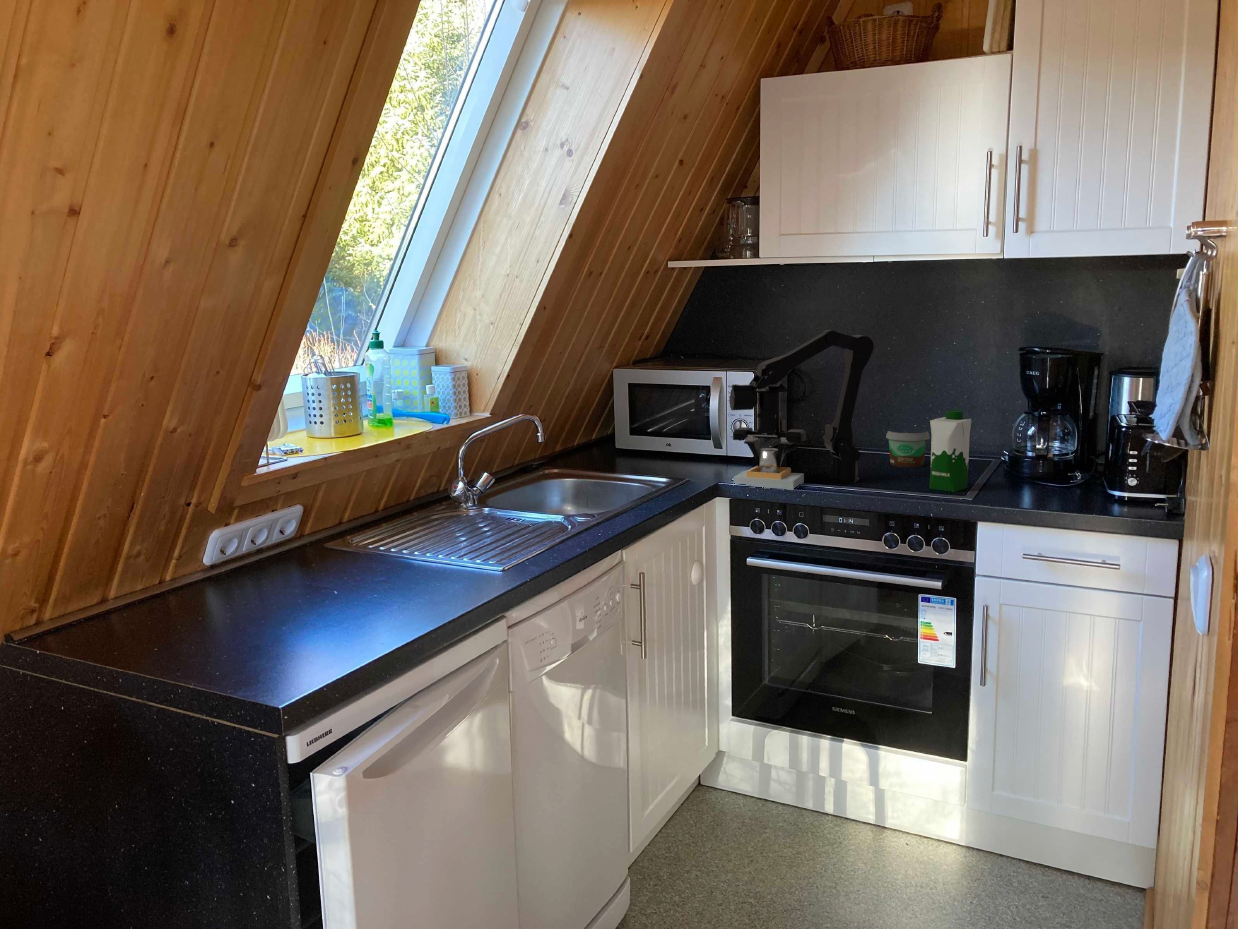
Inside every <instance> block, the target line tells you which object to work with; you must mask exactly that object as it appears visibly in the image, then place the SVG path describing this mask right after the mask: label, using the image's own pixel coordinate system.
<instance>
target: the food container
mask: <svg viewBox="0 0 1238 929" xmlns="http://www.w3.org/2000/svg"><path fill="white" fill-rule="evenodd" d="M885 438H886V439H888V448H889V460H890V465H891V466H893V467H899V468H919V467H923V466H924V464H925V457H926V451H927V442H928V440H929V439H930V433H929V431H928V430H927V431H925V432H917V433H916V432H909V431H908V432H896V431H895V432H894V431H890V430H888V431H887V432H886V436H885Z"/></svg>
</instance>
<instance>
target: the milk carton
mask: <svg viewBox="0 0 1238 929" xmlns="http://www.w3.org/2000/svg"><path fill="white" fill-rule="evenodd" d="M945 415H946V416H944V417H938V418H934V419H932V420H929V423H930V433H931V442H930V444H931V446H930V448H931V449H930V471H929V473H930V475H929V486H928V487H929V490H937V491H945V492H950V491H951V492H953V493H956V492H959V491H962V490H965V489H968V482H969V480H968V478H969V460H970V458H969V456H970V453H969V452H970V436H971V426H972V419H971V418H970V419H969V418H963V415H964V411H963V410H958V409H949V410H946V414H945ZM951 492H950V493H951Z"/></svg>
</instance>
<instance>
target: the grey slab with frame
mask: <svg viewBox="0 0 1238 929" xmlns="http://www.w3.org/2000/svg"><path fill="white" fill-rule="evenodd" d="M804 480H805V474H804V473H799V472H798V473H797V472H792V469H791V467H785V466H784V467H783V466H782V467H780V468H779V472H778V473H765V472H759V466H758V465H756V466H755V467H753V468H751V469H746V470H743V471H741V472H740V473H738V474H736V475H734V476H733V484H734V483H735V484H746V485H751V486H757V487H758V486H759V487H762V488H761V489H770V488H781V489H780V490H784V489H788V490H787V491H794V490H795V489H794V488H795V487H796V486H797V485H799V484H801V485H803V484H804V483H805V481H804ZM763 487H764V488H763ZM765 487H766V488H765ZM782 488H783V489H782ZM789 489H790V490H789Z"/></svg>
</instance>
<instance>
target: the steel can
mask: <svg viewBox="0 0 1238 929" xmlns="http://www.w3.org/2000/svg"><path fill="white" fill-rule="evenodd" d="M777 460H778V448H774V447H764V448H760V449H759V472H765V473H778V472H779V468H778V463H777Z"/></svg>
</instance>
